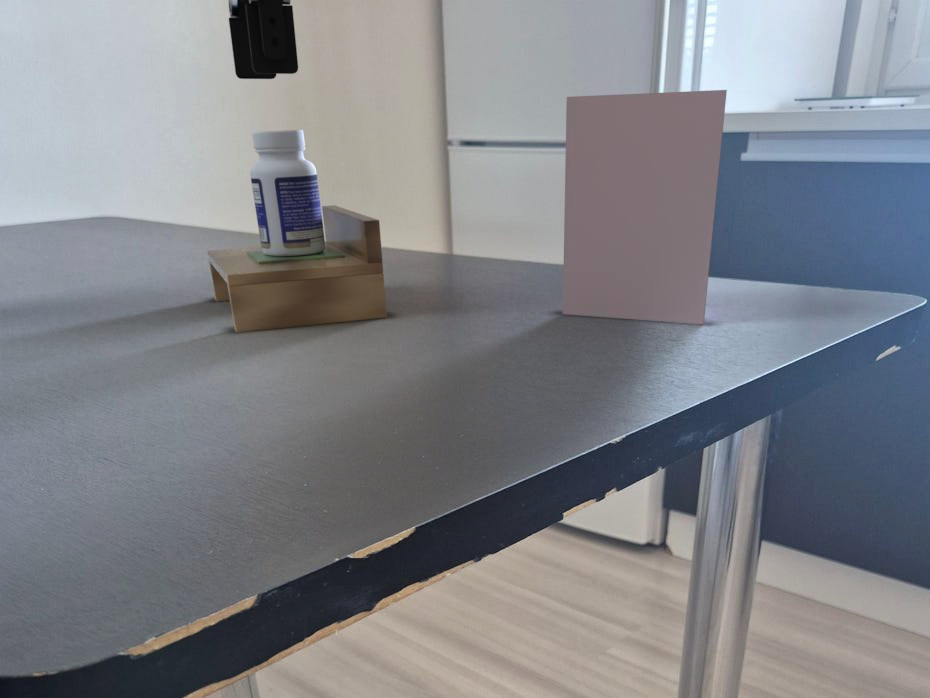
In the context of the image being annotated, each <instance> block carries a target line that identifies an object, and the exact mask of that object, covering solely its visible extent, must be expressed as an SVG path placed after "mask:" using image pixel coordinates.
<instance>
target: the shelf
mask: <svg viewBox="0 0 930 698" xmlns="http://www.w3.org/2000/svg"><path fill="white" fill-rule="evenodd" d="M321 211H322V220H323V229H324V238H325V249H324V251H322V252H320V253H316V254H309V255H301V256H268V255H265V254H264V253H263V251H262V247H261V246H254V247H241V248H239V247H238V248H226V249H212V250H206V255H207V260H208V265H209V271H210V277H211V283H212V290H213V295H214V300H215V301H216V302H227V301H229V304H230V305H229V306H230V309H231V316H232V321H233V322H232V323H233V328H234V331H235V332H236V333H243V332H244V333H245V332H252V331H260V330H261V331H263V330H264V331H265V330H274V329H282V328H293V327H303V326H312V325H322V324H332V323H343V322H344V323H345V322H352V321H362V320H364V321H365V320H374V319H382V318H388V314H387V301H386V288H385V277H384V276H385V275H384V263H383V254H382V253H383V250H382V249H383V248H382V238H381V226H380V225H381V224H380V220H379V219H377V218H374V217H371V216H368V215H365V214H361V213H359V212H356V211H353V210H351V209H347V208H345V207H341V206H337V205H336V204H335V205H334V204H333V205H332V204H331V205H322V206H321Z"/></svg>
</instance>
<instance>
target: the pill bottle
mask: <svg viewBox="0 0 930 698" xmlns="http://www.w3.org/2000/svg"><path fill="white" fill-rule="evenodd" d="M252 140H253V149H254V152H255V153H256V154H257V155H258V161H257V162H255V163H254V164H253V165H252V166H251V168H250V173H249V174H250V181H251V188H252V195H253V202H254V208H255V214H256V221H257V228H258V235H259V240H260V241H259V242H260V247H262V251H263V253H264V254H265V255H268V256H301V255H309V254H316V253H320V252H322V251H324V249H325V242H326V238H325V230H324V221H323V213H322V206H321V198H320V190H319V189H320V188H319V181H318V175H317V174H318V173H317V169H316V167H315V165H314V163H313V162H312V161H310V160H309V159H306V158H305V156H304V151H306V149H307V148H306V142H305V140H306V139H305V134H304V130H303V129H284V130H262V131H253V132H252Z"/></svg>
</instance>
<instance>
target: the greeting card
mask: <svg viewBox="0 0 930 698" xmlns="http://www.w3.org/2000/svg"><path fill="white" fill-rule="evenodd" d="M727 92H728V91H727V89H712V90H690V91H673V92H672V91H670V92H669V91H668V92H647V93H645V92H644V93H624V94H602V95H601V94H600V95H577V96H566V109H565V112H566V113H565V114H566V116H565V117H566V118H565V163H564V164H565V165H564V166H565V169H564V171H565V173H564V219H563V221H564V225H563V269H562V270H563V274H562V275H563V276H562V315H568V316H583V317H594V318H595V317H598V318H609V319H610V318H611V319H623V320H624V319H625V320H639V321H650V322H652V321H654V322H666V323H676V324H677V323H680V324H690V325H691V324H692V325H693V324H694V325H704V323H705V318H706V317H705V316H706V315H705V314H706V307H707V306H706V305H707V296H708V287H709V286H708V285H709V275H710V265H711V264H710V263H711V257H712V255H711V253H712V245H713V234H714V223H715V214H716V206H717V205H716V203H717V194H718V185H719V173H720V163H721V154H722V153H721V152H722V143H723V142H722V141H723V132H724V122H725V111H726V103H727Z"/></svg>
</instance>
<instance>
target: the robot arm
mask: <svg viewBox="0 0 930 698" xmlns="http://www.w3.org/2000/svg"><path fill="white" fill-rule="evenodd" d="M228 12H229V17H228V23H229V32H230V40H231V47H232V56H233V63H234V73H235V76H236V77H237V78H238V79H240V80H274V79H275V78H276V77H277V75H295V74H296V73H297V72H298V71H299V62H298V60H299V59H298V52H297V51H298V50H297V40H296V28H295V20H294V8H293V5H291V0H228Z"/></svg>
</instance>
